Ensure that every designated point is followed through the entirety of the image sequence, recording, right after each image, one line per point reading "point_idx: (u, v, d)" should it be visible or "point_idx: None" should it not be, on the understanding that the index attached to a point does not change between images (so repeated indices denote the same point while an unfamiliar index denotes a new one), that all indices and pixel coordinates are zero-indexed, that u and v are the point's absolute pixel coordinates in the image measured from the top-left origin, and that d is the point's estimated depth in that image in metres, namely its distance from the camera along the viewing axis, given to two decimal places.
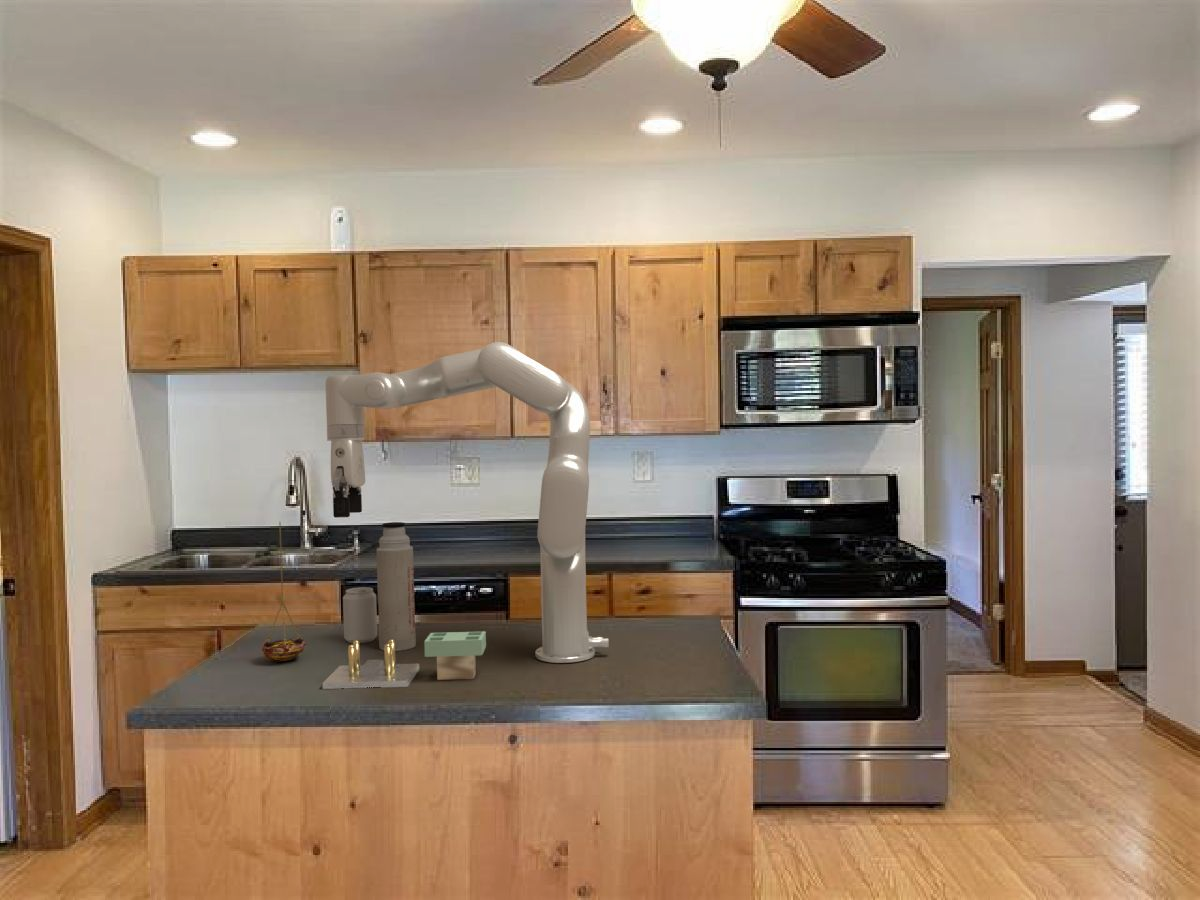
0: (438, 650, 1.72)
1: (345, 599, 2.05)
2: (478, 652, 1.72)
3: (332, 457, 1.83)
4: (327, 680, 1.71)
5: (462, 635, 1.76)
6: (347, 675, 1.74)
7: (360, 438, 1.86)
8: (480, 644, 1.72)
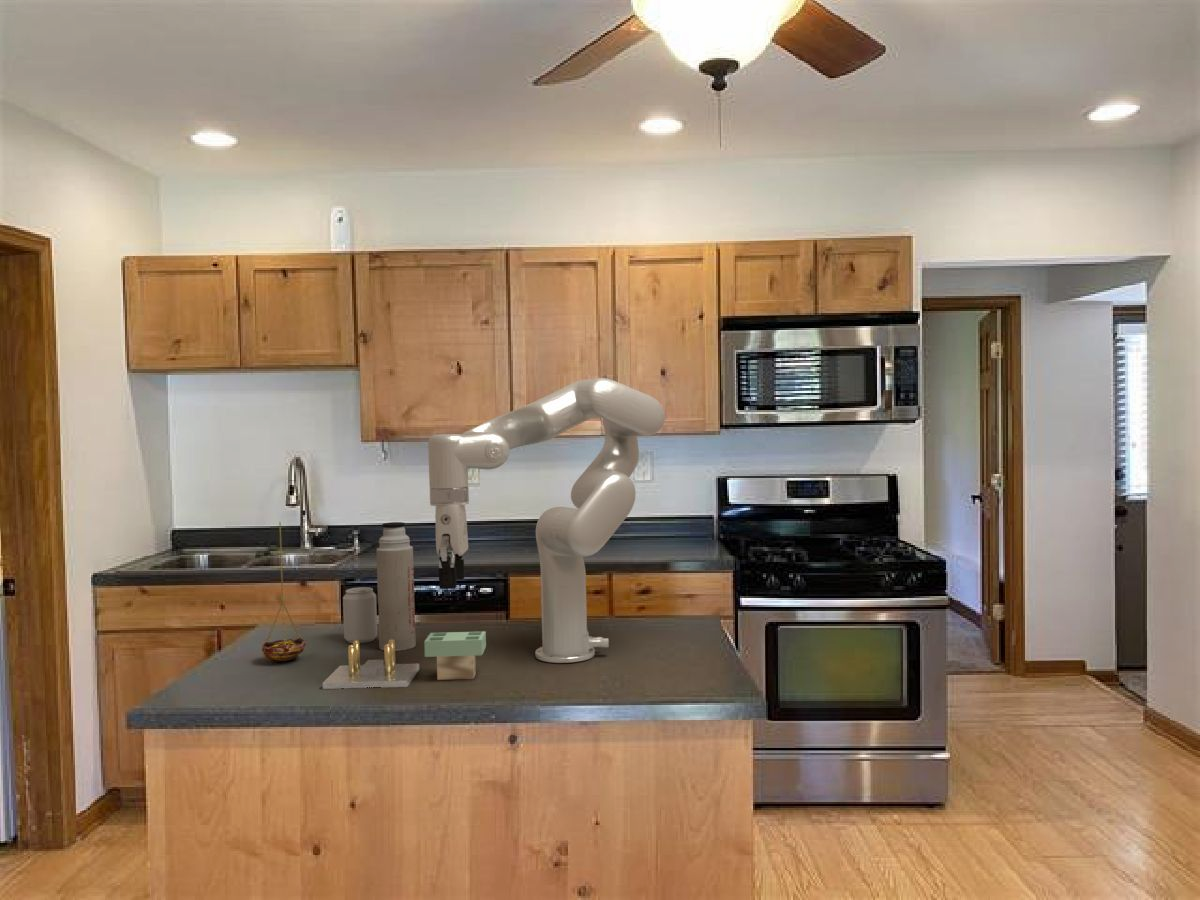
0: (438, 650, 1.72)
1: (345, 599, 2.05)
2: (478, 652, 1.72)
3: (437, 524, 1.70)
4: (327, 680, 1.71)
5: (462, 635, 1.76)
6: (347, 675, 1.74)
7: (465, 502, 1.73)
8: (480, 644, 1.72)
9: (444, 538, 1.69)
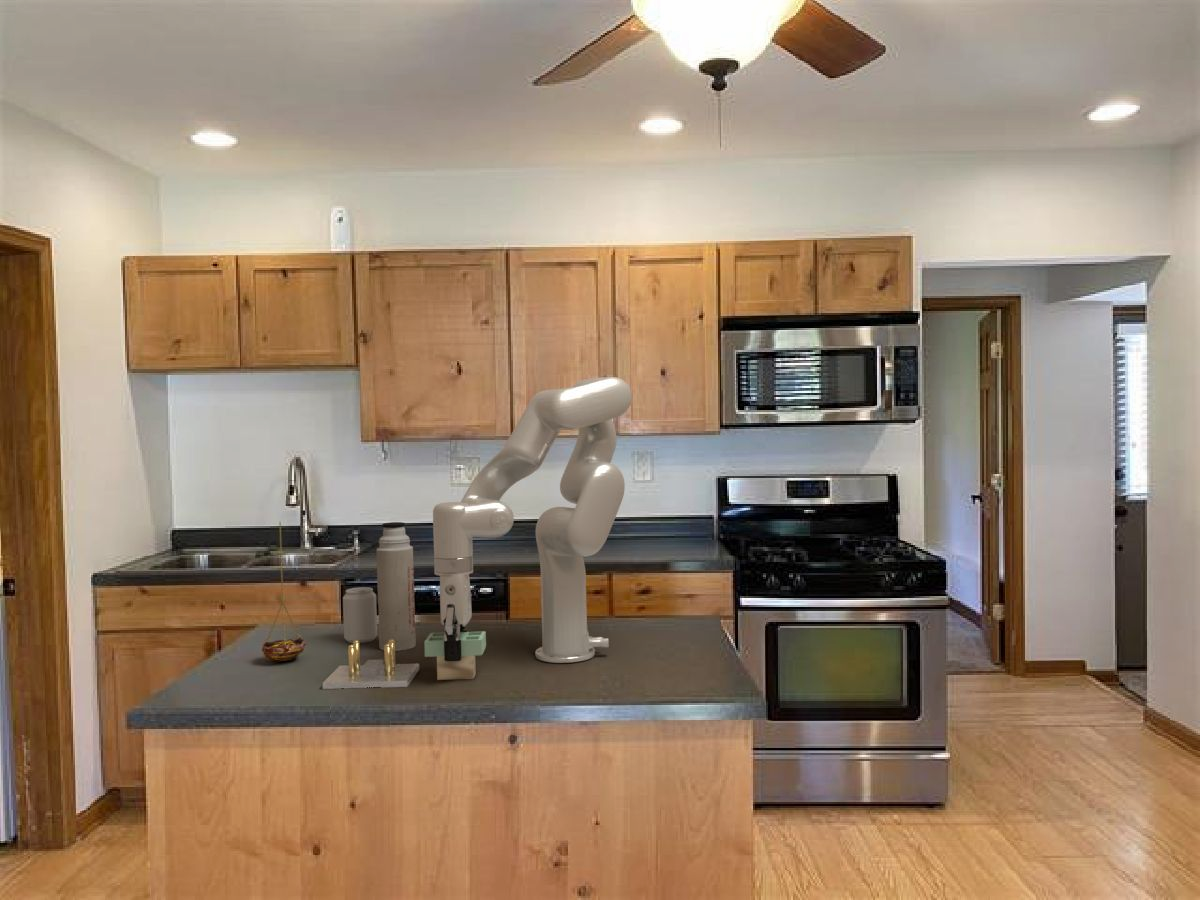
0: (438, 650, 1.72)
1: (345, 599, 2.05)
2: (478, 652, 1.72)
3: (442, 594, 1.70)
4: (327, 680, 1.71)
5: (462, 635, 1.76)
6: (347, 675, 1.74)
7: (470, 572, 1.73)
8: (480, 644, 1.72)
9: (449, 611, 1.69)
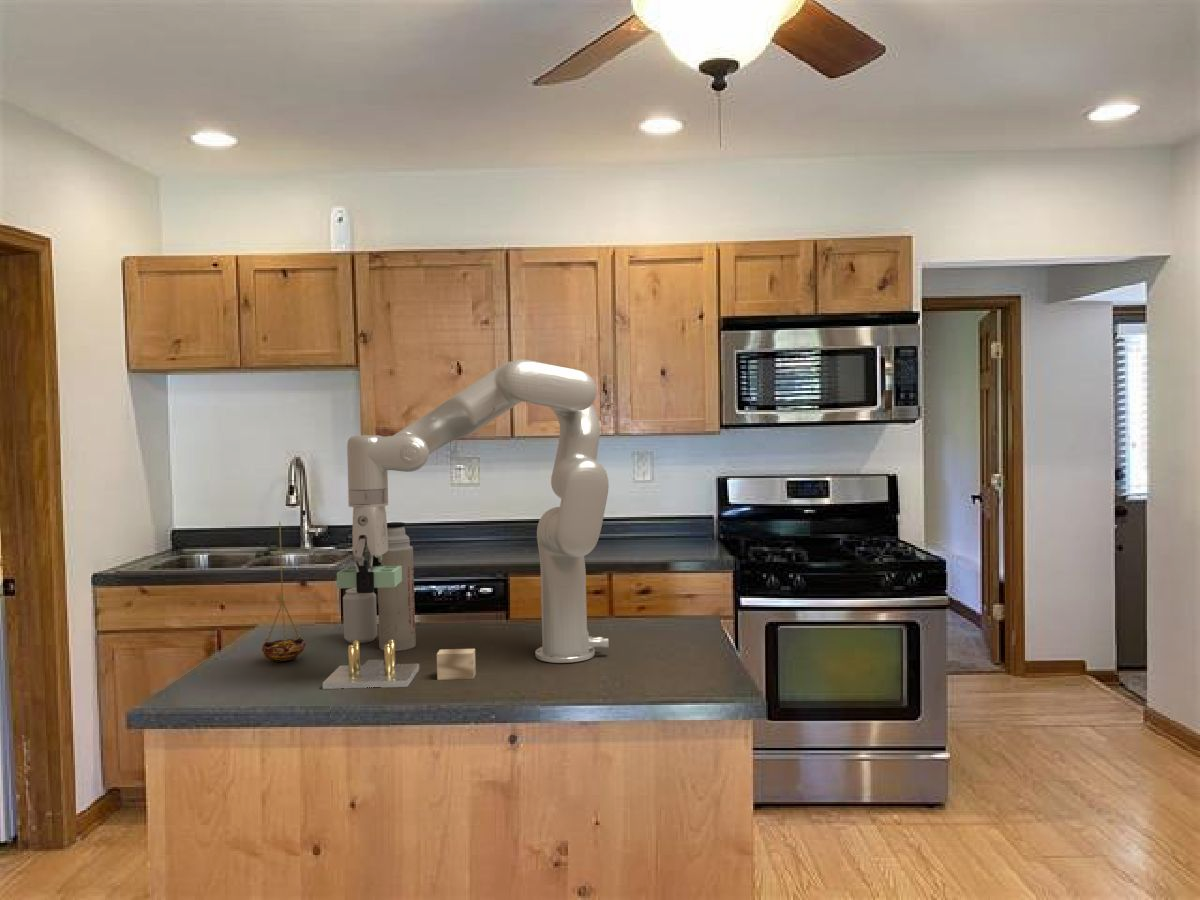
0: (350, 582, 1.71)
1: (345, 599, 2.05)
2: (391, 584, 1.71)
3: (354, 525, 1.70)
4: (327, 680, 1.71)
5: (377, 568, 1.75)
6: (347, 675, 1.74)
7: (384, 504, 1.73)
8: (393, 576, 1.71)
9: (361, 542, 1.69)
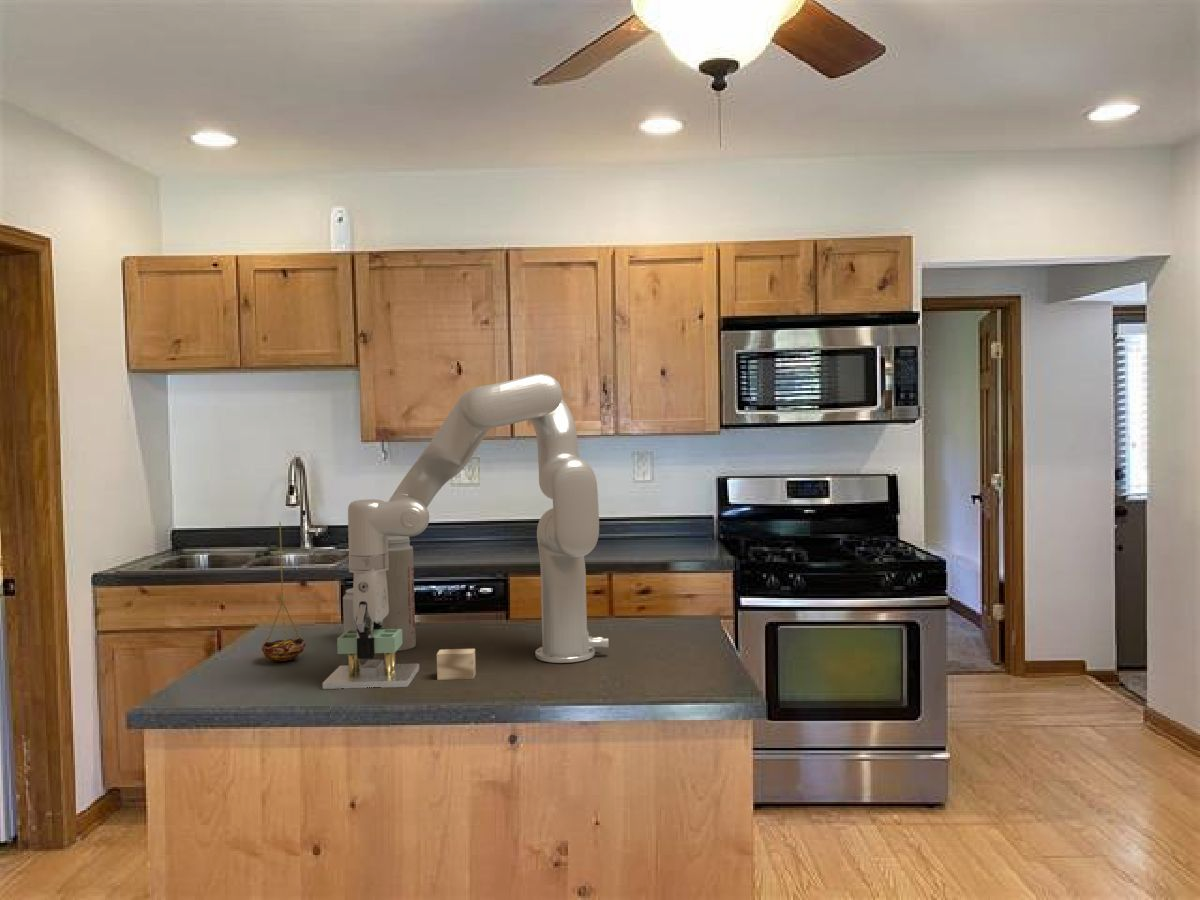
0: (350, 647, 1.71)
1: (345, 599, 2.05)
2: (391, 649, 1.72)
3: (355, 592, 1.70)
4: (327, 680, 1.71)
5: (377, 632, 1.75)
6: (347, 675, 1.74)
7: (384, 569, 1.73)
8: (393, 641, 1.71)
9: (361, 609, 1.69)
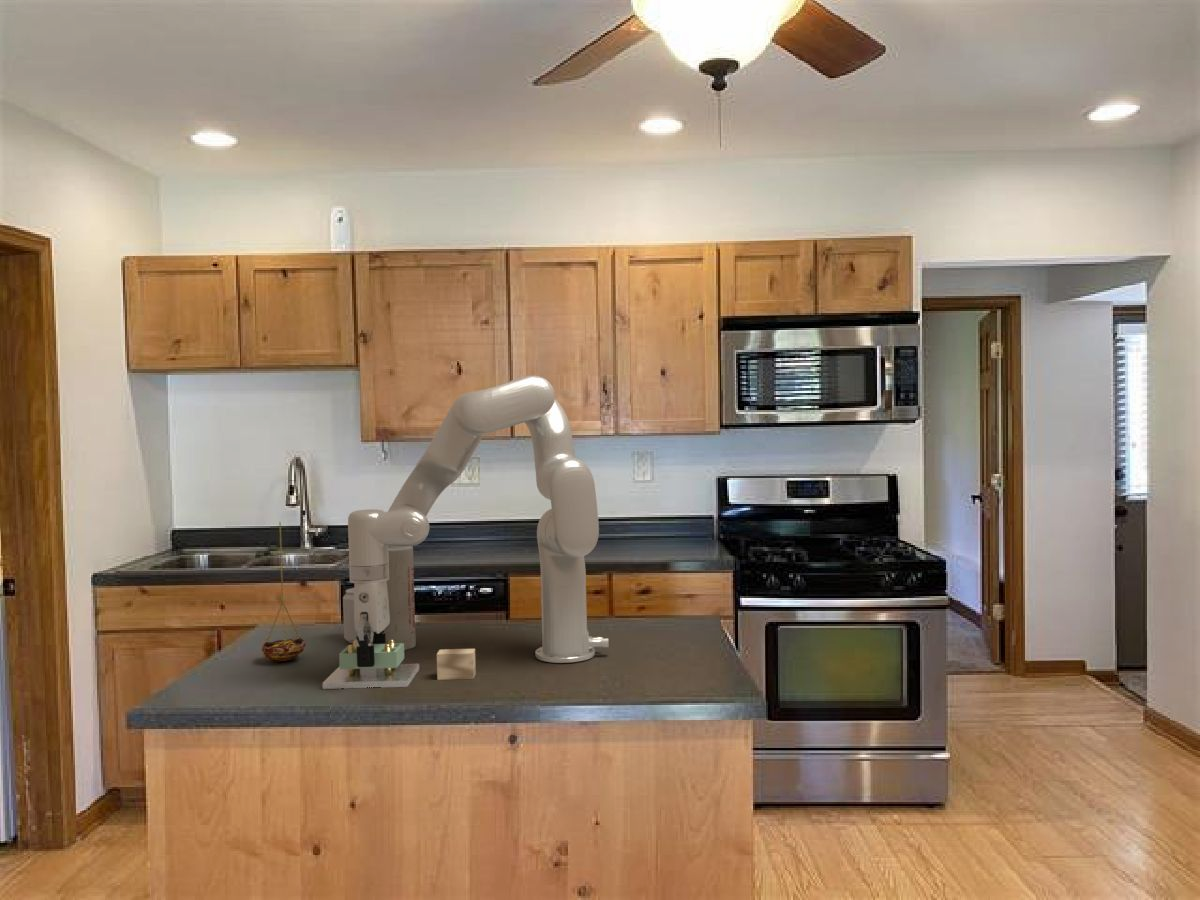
0: (353, 663, 1.72)
1: (345, 599, 2.05)
2: (393, 664, 1.72)
3: (355, 602, 1.70)
4: (327, 680, 1.71)
5: (379, 647, 1.76)
6: (347, 675, 1.74)
7: (385, 579, 1.73)
8: (395, 656, 1.72)
9: (362, 617, 1.69)
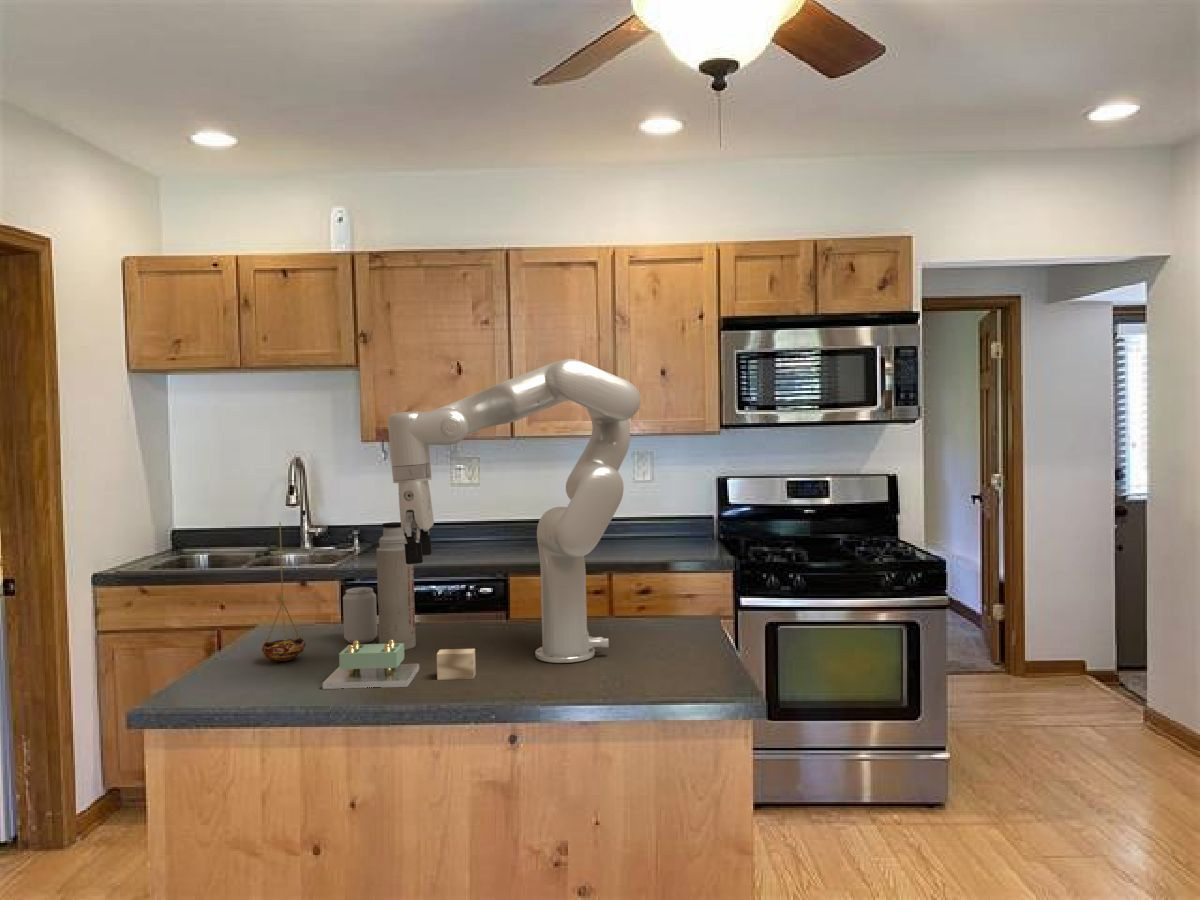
0: (353, 663, 1.72)
1: (345, 599, 2.05)
2: (393, 664, 1.72)
3: (401, 501, 1.73)
4: (327, 680, 1.71)
5: (379, 647, 1.76)
6: (347, 675, 1.74)
7: (428, 478, 1.76)
8: (395, 656, 1.72)
9: (408, 514, 1.72)
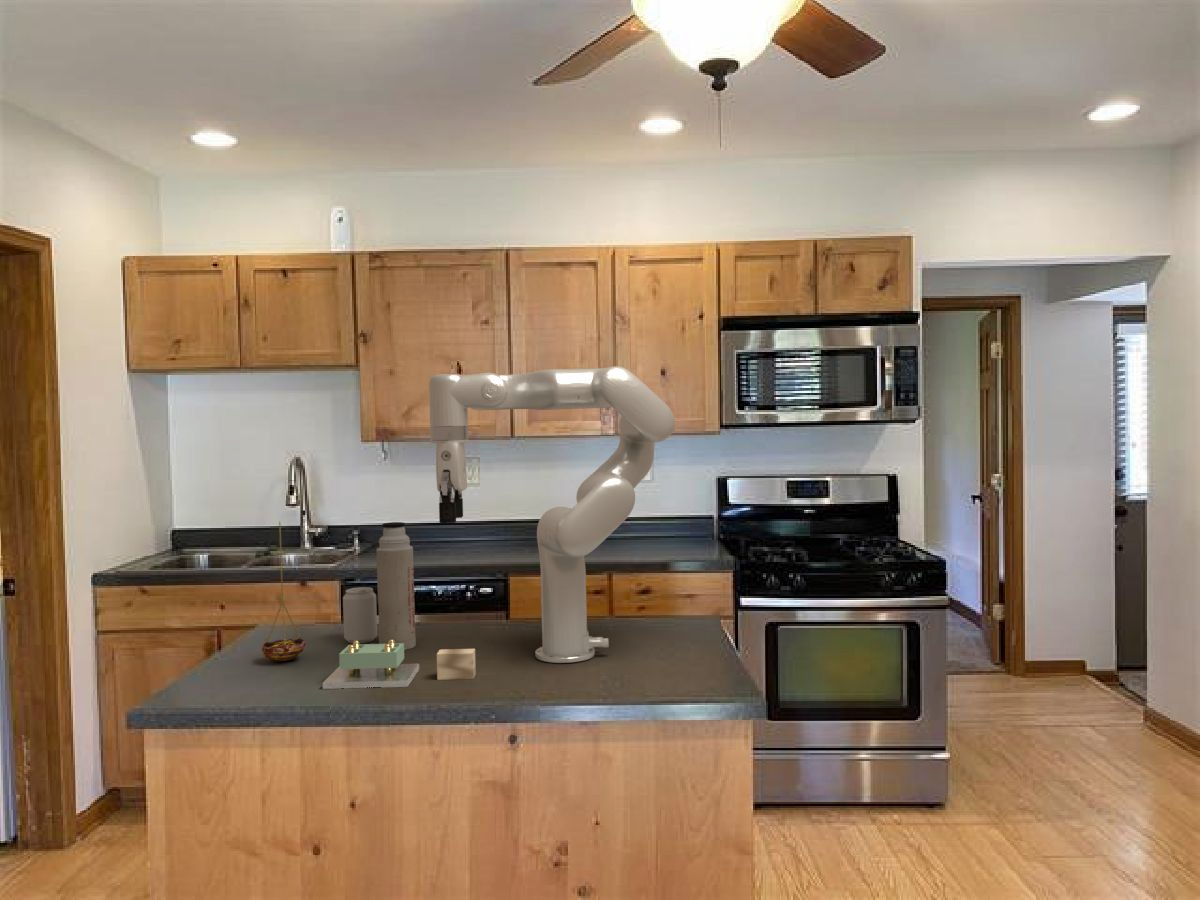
0: (353, 663, 1.72)
1: (345, 599, 2.05)
2: (393, 664, 1.72)
3: (438, 460, 1.75)
4: (327, 680, 1.71)
5: (379, 647, 1.76)
6: (347, 675, 1.74)
7: (465, 440, 1.78)
8: (395, 656, 1.72)
9: (444, 473, 1.74)
